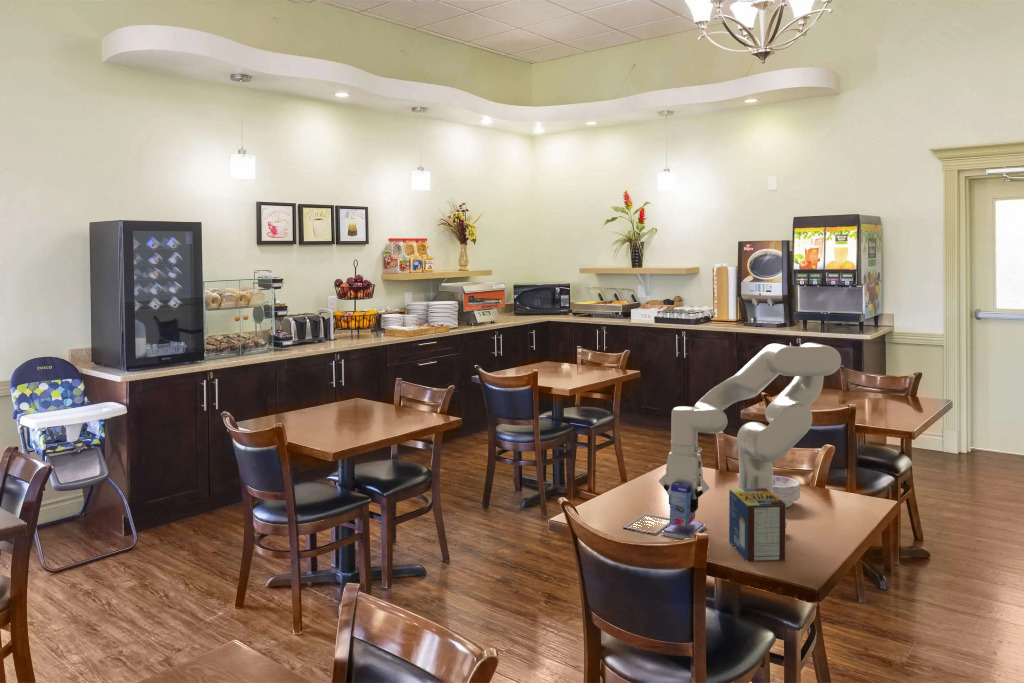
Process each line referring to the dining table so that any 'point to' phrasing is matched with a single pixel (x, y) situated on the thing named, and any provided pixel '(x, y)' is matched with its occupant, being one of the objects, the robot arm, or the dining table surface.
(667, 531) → the ink pad
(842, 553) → the dining table surface
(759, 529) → the protein box
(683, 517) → the ink cartridge box
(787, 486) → the paper bowls
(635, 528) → the marked card
